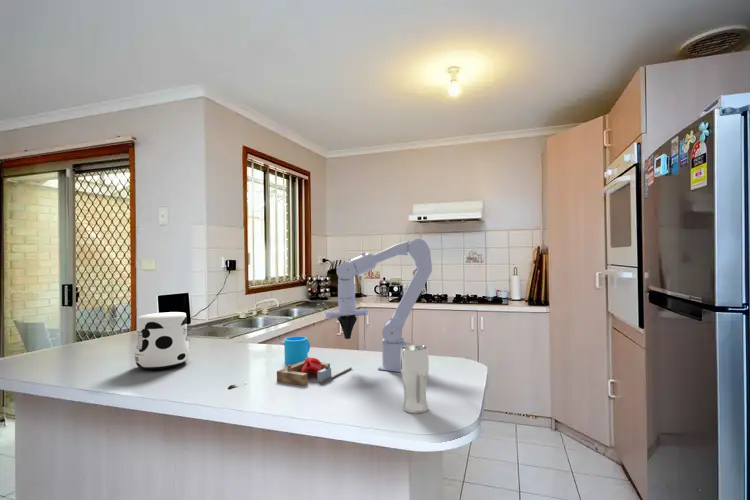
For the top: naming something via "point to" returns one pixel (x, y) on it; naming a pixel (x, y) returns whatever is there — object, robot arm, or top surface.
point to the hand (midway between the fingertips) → (347, 338)
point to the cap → (311, 365)
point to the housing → (301, 374)
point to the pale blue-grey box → (324, 374)
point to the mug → (296, 349)
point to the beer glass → (414, 377)
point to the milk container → (162, 340)
